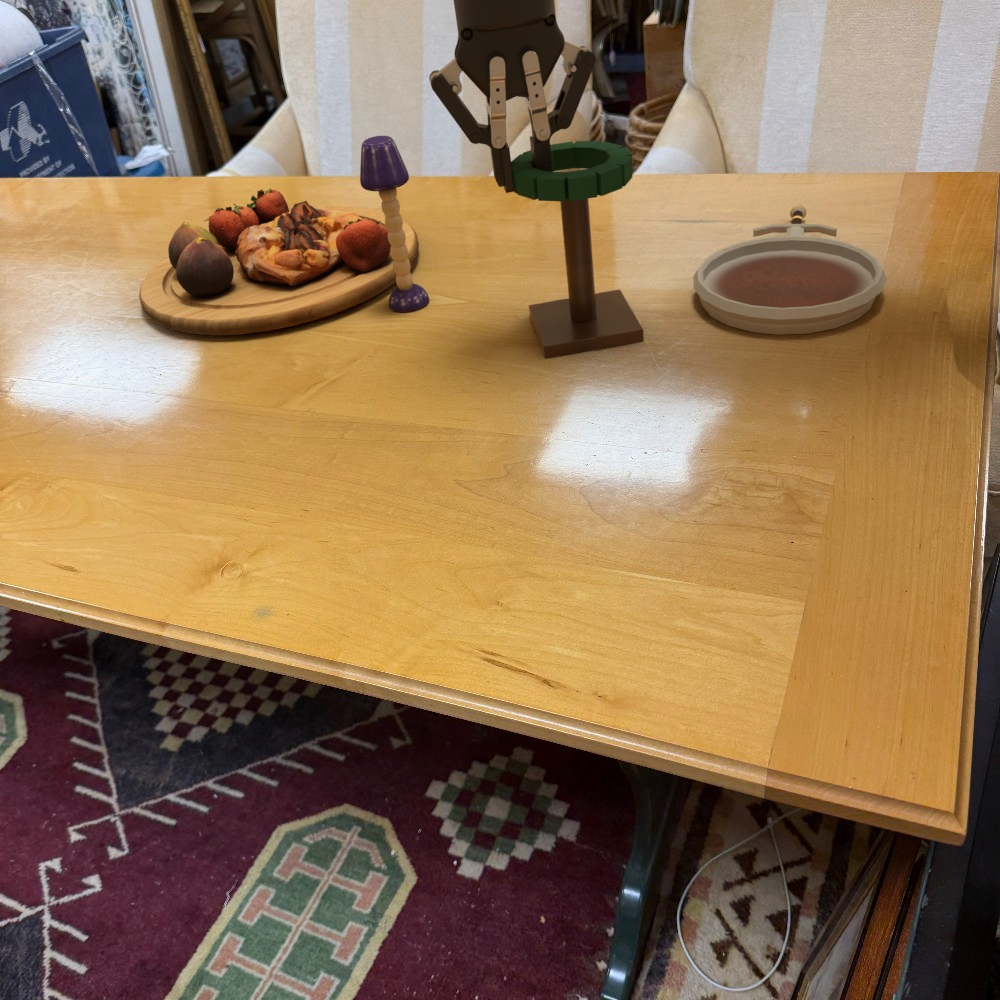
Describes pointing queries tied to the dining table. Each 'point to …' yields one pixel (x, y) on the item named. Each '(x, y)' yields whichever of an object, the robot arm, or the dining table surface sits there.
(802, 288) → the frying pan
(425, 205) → the dining table surface
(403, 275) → the toy lamp
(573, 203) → the post
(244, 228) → the wooden plate
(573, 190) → the ring
